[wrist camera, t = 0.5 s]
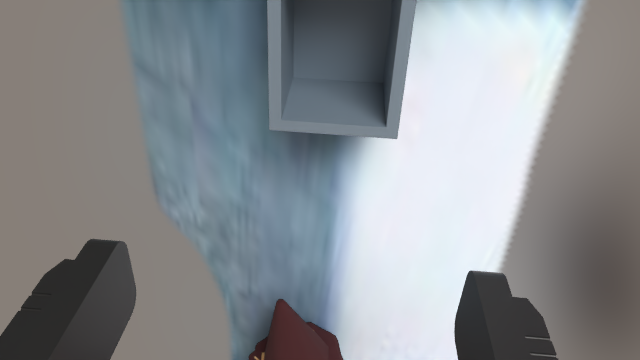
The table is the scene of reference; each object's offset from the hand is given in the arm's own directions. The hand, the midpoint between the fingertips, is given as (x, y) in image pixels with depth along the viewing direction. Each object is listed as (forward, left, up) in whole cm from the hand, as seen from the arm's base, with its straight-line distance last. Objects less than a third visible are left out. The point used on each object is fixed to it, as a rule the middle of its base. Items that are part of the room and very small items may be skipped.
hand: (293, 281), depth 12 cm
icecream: (+26, -1, -20) cm, 33 cm away
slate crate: (0, 0, -20) cm, 20 cm away
